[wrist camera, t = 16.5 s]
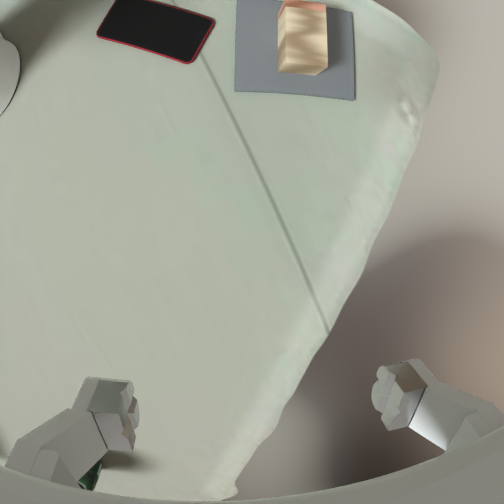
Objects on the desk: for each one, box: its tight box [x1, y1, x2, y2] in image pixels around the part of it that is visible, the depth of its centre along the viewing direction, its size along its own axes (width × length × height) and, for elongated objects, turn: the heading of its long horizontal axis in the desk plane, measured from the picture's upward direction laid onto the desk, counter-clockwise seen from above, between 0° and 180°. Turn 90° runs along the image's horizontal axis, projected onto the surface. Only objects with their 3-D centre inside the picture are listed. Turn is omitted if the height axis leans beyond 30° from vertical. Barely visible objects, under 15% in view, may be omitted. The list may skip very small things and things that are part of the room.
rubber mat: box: [234, 0, 354, 101], centre depth 36 cm, size 16×14×1 cm
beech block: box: [278, 0, 328, 76], centre depth 33 cm, size 5×5×9 cm
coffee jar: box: [77, 460, 102, 491], centre depth 46 cm, size 10×8×19 cm
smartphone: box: [96, 0, 214, 64], centre depth 33 cm, size 7×1×15 cm
